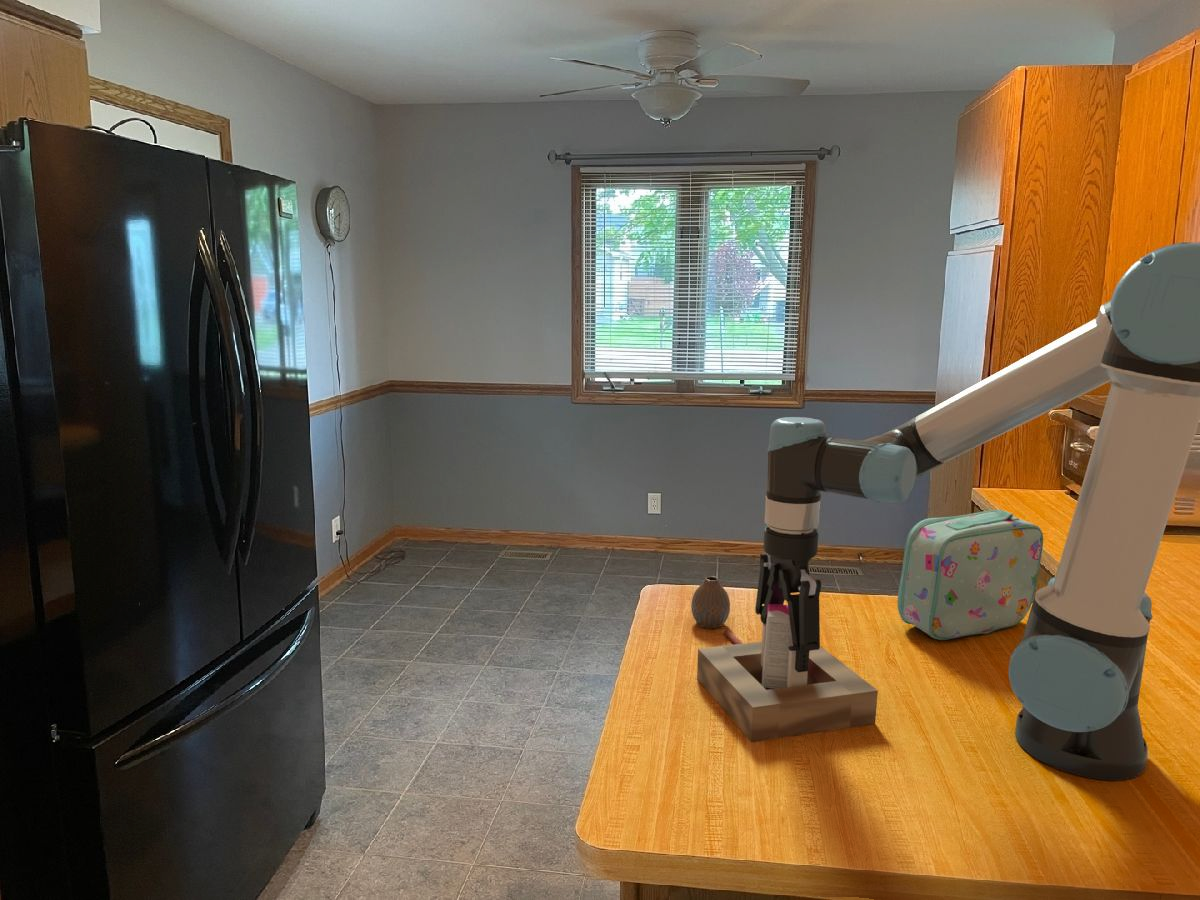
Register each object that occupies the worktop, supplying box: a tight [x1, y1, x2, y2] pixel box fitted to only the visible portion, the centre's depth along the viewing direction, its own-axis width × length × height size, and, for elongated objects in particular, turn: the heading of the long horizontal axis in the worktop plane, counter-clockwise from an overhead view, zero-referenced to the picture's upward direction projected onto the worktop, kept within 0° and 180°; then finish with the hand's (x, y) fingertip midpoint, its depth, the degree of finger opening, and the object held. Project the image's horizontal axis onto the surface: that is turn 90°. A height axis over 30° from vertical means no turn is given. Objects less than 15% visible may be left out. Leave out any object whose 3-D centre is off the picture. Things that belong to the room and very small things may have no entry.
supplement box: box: [761, 604, 793, 690], centre depth 121 cm, size 6×6×12 cm
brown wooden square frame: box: [696, 640, 879, 743], centre depth 122 cm, size 19×19×5 cm
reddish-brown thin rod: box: [723, 628, 743, 644], centre depth 140 cm, size 12×1×1 cm, turn 16°
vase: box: [690, 575, 731, 630], centre depth 149 cm, size 7×7×9 cm
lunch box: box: [897, 509, 1044, 641], centre depth 149 cm, size 27×10×21 cm, turn 115°
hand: (782, 676), depth 121 cm, fingers closed on supplement box, 7 cm apart
